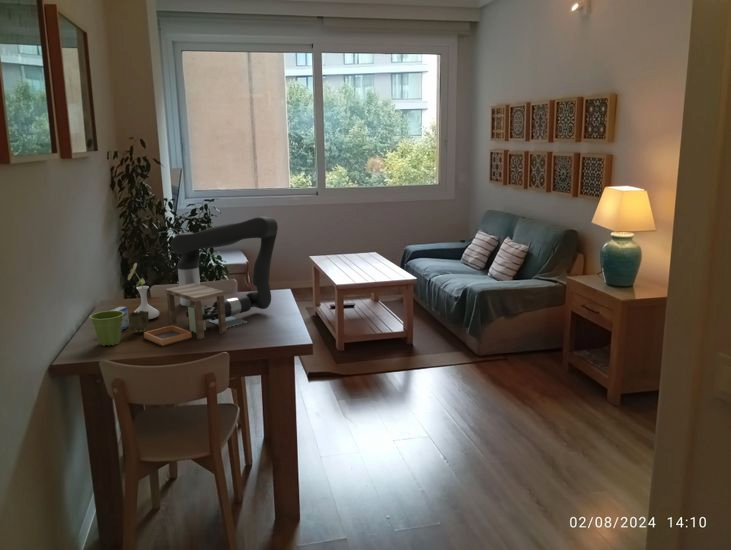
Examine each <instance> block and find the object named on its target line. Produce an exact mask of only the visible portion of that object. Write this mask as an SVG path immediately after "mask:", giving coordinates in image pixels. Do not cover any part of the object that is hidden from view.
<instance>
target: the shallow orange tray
mask: <svg viewBox="0 0 731 550" xmlns="http://www.w3.org/2000/svg"><path fill="white" fill-rule="evenodd" d="M192 336H193V335H192V331H190V330H187V329H184V328H181V327H178V326H177V327H176V326H173V325H171V326H170V325H167V326H164V327H160V328H156V329H152V330H148V331H145V332H143V339H144V338H145V339H144V340H146V339H147V341H149V340H150V341H149V342H151V341H152V342H151V343H153V342H154V344H157V345H158V346H161V347H165V346H170V345H173V344H177V343H180V342H184V341H187V340H191V339H192V338H193V337H192ZM190 338H191V339H190ZM186 339H187V340H186ZM183 340H184V341H183ZM179 341H180V342H179ZM176 342H177V343H176Z"/></svg>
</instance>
